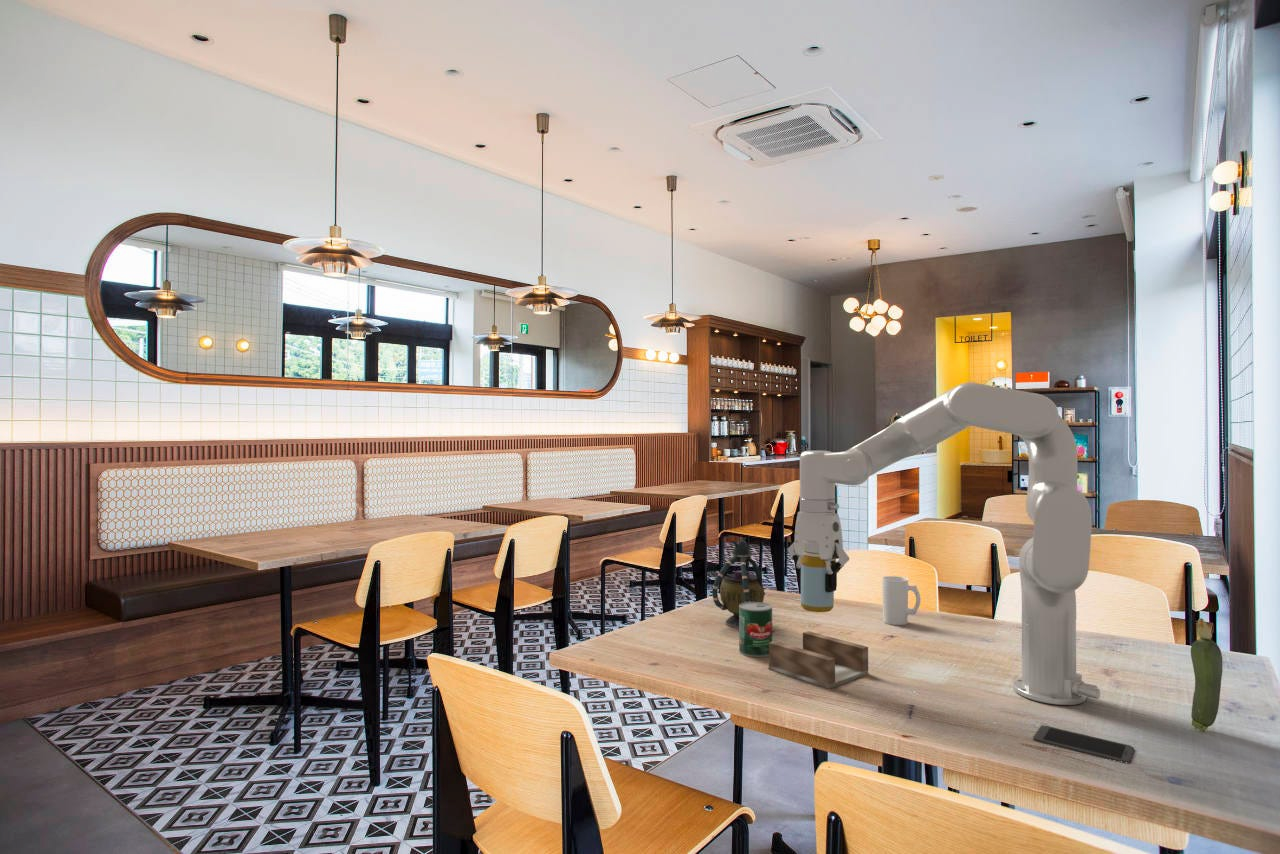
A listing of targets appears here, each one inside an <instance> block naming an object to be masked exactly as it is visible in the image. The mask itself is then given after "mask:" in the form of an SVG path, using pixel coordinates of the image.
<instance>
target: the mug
mask: <svg viewBox="0 0 1280 854" xmlns="http://www.w3.org/2000/svg"><path fill="white" fill-rule="evenodd" d="M881 580H882V581H881V583H882V584H881V585H882V586H881V587H882V589H881V590H882V592H881V593H882V619H883V623H884V624H888V625H890V626H906V625H907V624H908V621H909V620H908V617H909V615H912V616H914V615H916V614H917V612H918V610H919V608H920V605H921V595H920V591H919V589H918V588H917V587H918V586H917V585H916V584H911V585H909V579H908V577H902V576H899V575H898V576H895V575H892V576H891V575H886V576H882V577H881ZM909 591H911V592H913V593H914V595H915V599H916V600H915V604H914V607H913V608H909V605H908V604H909Z"/></svg>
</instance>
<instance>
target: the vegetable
mask: <svg viewBox="0 0 1280 854" xmlns="http://www.w3.org/2000/svg"><path fill="white" fill-rule="evenodd" d="M1197 634H1198V637H1199V638H1198V639H1196V640H1195V641H1194V642H1192V643H1191V647H1190V658H1191V663H1192V667H1193V673H1194V690H1193V696H1192V706H1191V725H1192V726H1193V727H1194V729H1195V730H1199V731H1202V732H1205V731H1206V730H1207V729H1208V728H1209V727H1210V726H1212V725H1214V723H1215V721H1216V719H1217V715H1218V711H1219V707H1220V698H1221V696H1220V695H1221V688H1222V687H1221V686H1222V677H1223V655H1222V650H1221V648H1220V646H1219V645H1218V644H1217V643H1216V642H1215V641H1214V640H1212V637H1213V634H1212V631H1211V628H1210V627H1209V626H1208V624H1207V623H1206V621H1205V620H1204V618H1203V617H1201V618H1198V620H1197Z"/></svg>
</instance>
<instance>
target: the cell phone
mask: <svg viewBox="0 0 1280 854" xmlns="http://www.w3.org/2000/svg"><path fill="white" fill-rule="evenodd" d="M1032 741H1034V742H1038V743H1041V744H1045V745H1048V744H1049V746H1052V745H1053V746H1052V747H1056V746H1057V748H1060V749H1061V748H1062V749H1065V750H1068V749H1069V750H1068V751H1072V750H1073V751H1074V752H1078V753H1082V754H1084V755H1085V754H1086V755H1089V756H1093V757H1098V758H1101V759H1105V760H1109V759H1111V760H1110V761H1113V760H1116V761H1115V762H1117V761H1122V762H1127V763H1129V762H1130V761H1131V762H1132V760H1133V757H1132V756H1134V753H1135V748H1134V746H1132V745H1129V744H1125V743H1121V742H1117V741H1113V740H1109V739H1105V738H1100V737H1095V736H1093V735H1092V736H1091V735H1088V734H1087V735H1086V734H1083V733H1080V732H1079V733H1078V732H1073V731H1070V730H1066V729H1062V728H1059V727H1058V728H1057V727H1052V726H1049V725H1040V727H1039V728H1038V729H1037V731H1036V732H1035V734H1034V735H1033V738H1032ZM1073 751H1072V752H1073ZM1131 759H1132V760H1131ZM1131 762H1130V763H1131ZM1130 763H1129V764H1130Z"/></svg>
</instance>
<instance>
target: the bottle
mask: <svg viewBox="0 0 1280 854" xmlns="http://www.w3.org/2000/svg"><path fill="white" fill-rule="evenodd" d="M803 550H804V551H803V554H804V555H803V557H802V560H801V587H800V606H801V608H802V609H803V610H804V611H808V612H813V613H828V612H830V611H832V610H833V608H834V597H835V591H833V592H829V593H828V592H826V591H825V574H827V573H828V572H827V569H826V564H825V561H824V560H822V559H820V554H818V553H819V545H818V543H816V542H808V541H804V547H803ZM830 563H831V566H833V563H832V561H831V562H830Z"/></svg>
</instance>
